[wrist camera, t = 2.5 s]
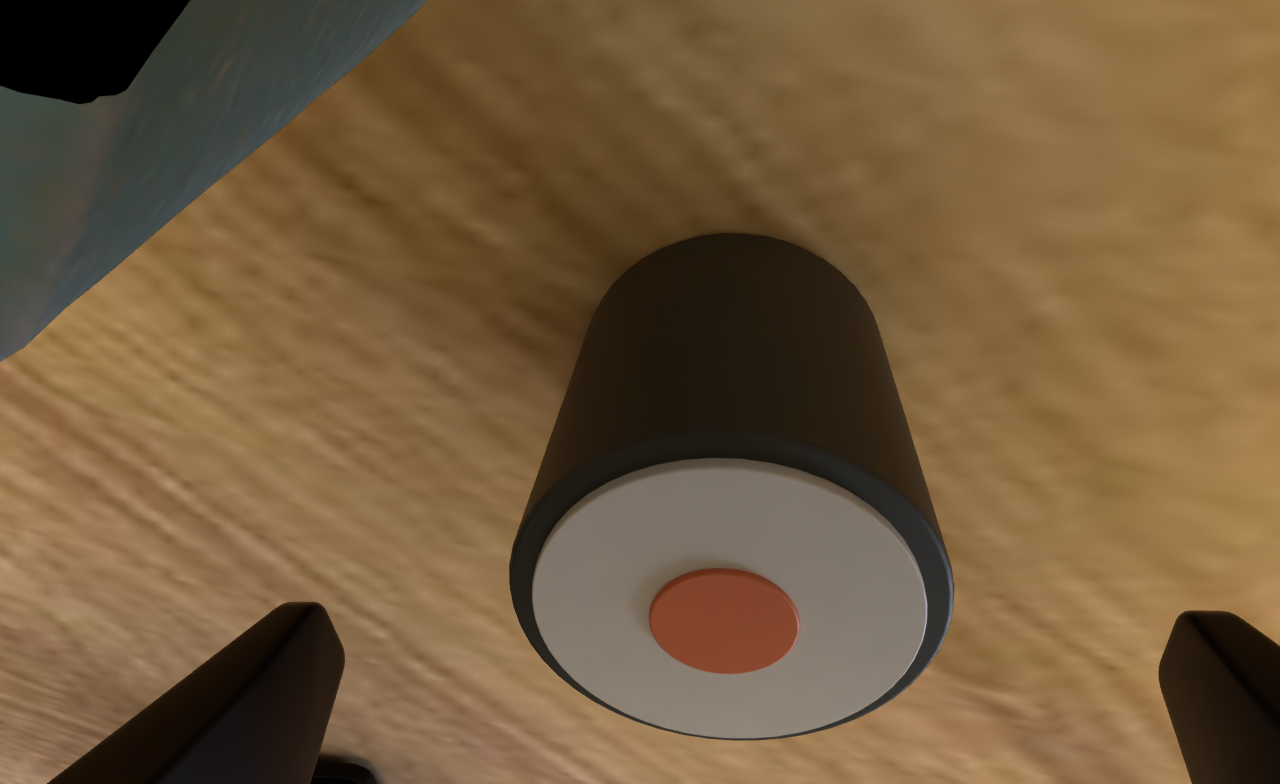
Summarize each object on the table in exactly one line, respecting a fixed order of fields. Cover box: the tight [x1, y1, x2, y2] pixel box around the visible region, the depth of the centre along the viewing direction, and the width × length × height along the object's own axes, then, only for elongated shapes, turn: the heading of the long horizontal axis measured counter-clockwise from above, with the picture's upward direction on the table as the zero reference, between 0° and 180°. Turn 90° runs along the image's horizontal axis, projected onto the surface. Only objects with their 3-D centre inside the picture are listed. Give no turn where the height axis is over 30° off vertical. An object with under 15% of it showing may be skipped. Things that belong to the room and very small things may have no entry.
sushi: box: [509, 234, 954, 740], centre depth 10 cm, size 5×5×5 cm
